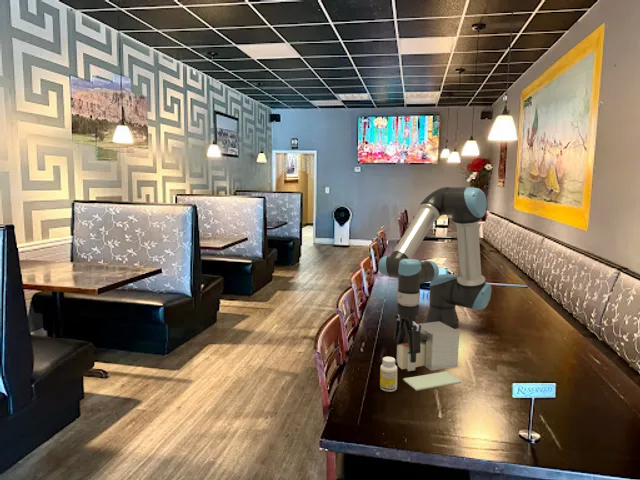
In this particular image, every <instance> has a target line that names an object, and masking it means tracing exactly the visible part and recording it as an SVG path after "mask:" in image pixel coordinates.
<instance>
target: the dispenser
mask: <svg viewBox="0 0 640 480" xmlns="http://www.w3.org/2000/svg"><path fill="white" fill-rule="evenodd" d="M416 324H417V325H421V330H420V342H423V341H426V356H425V366H424V367H425V368H427V370H429V371H432V372H433V371H439V370H445V369H450V368H456V367H458V363H459V347H460V346H459V344H460V331H459V330H457V329H456V328H454V329H453V328H451V327H449V326H447V325H445V324H444V323H442V322H440V321H438V322H430V323H425V322H424V323H416Z"/></svg>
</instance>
